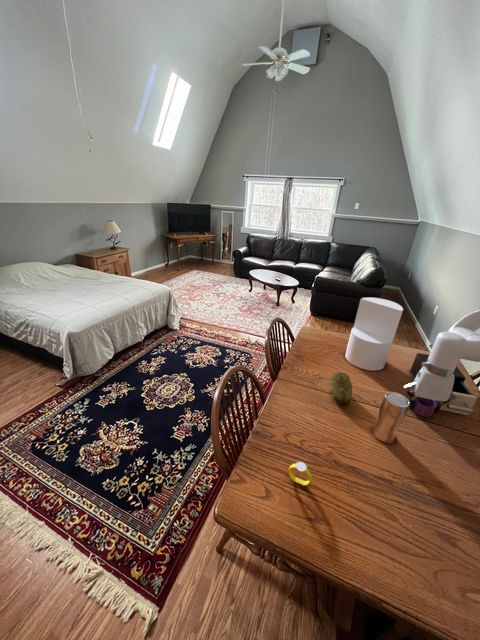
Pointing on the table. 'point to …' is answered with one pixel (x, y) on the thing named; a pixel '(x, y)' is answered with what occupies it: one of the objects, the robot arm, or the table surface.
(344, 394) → the green rounded piece
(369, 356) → the cylinder
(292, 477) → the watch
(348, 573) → the table surface
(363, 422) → the table surface
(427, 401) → the bowl
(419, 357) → the cabinet
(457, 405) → the drawer
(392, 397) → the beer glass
